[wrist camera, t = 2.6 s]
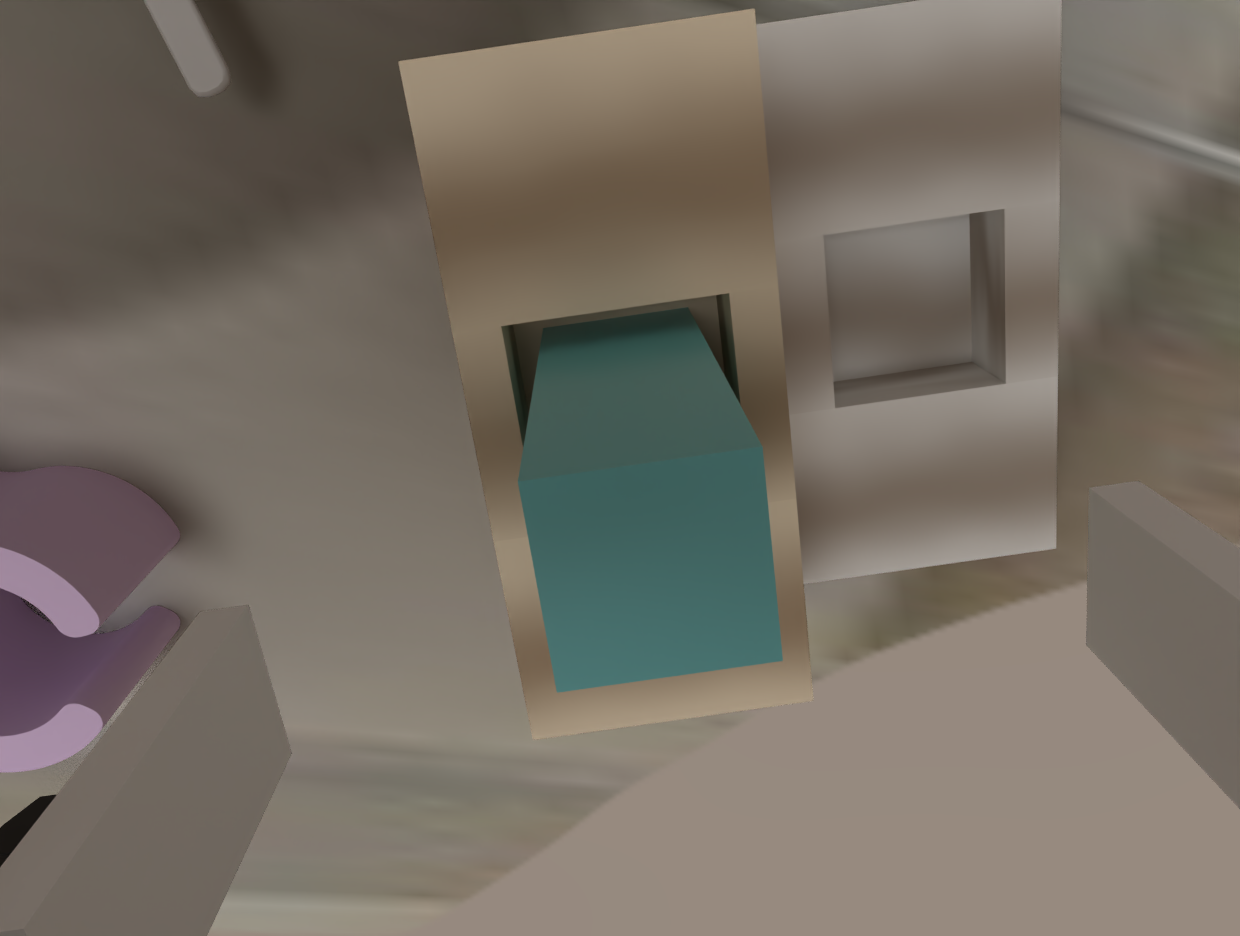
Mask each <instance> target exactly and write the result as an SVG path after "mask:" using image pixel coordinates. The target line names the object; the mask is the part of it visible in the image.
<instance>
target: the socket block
mask: <svg viewBox="0 0 1240 936" xmlns="http://www.w3.org/2000/svg"><path fill="white" fill-rule="evenodd" d="M1061 17H1062V0H918V1H911V2H905V3H898V4H891V5H884V6H878V7H871V8H864V9H857V10H851V11H844V12H837V13H830V14H824V15H817V16H810V17H803V18H797V19H790V20H783V21H776V22H770V23H763V24H756V18H755V9H748V10H741V11H735V12H728V13H721V14H714V15H708V16H701V17H694V18H687V19H681V20H674V21H667V22H660V23H654V24H647V25H640V26H634V27H627V28H620V29H613V30H607V31H600V32H593V33H586V34H580V35H573V36H566V37H559V38H553V39H546V40H539V41H532V42H526V43H519V44H512V45H506V46H499V47H492V48H485V49H479V50H472V51H465V52H458V53H452V54H445V55H438V56H431V57H425V58H418V59H411V60H404V61H398V62H399V68H400V73H401V78H402V83H403V88H404V93H405V98H406V103H407V108H408V113H409V118H410V123H411V128H412V133H413V138H414V143H415V148H416V153H417V158H418V163H419V168H420V173H421V178H422V183H423V188H424V193H425V198H426V203H427V209H428V214H429V219H430V224H431V229H432V234H433V239H434V244H435V249H436V254H437V259H438V264H439V269H440V274H441V279H442V284H443V289H444V294H445V299H446V304H447V309H448V314H449V319H450V324H451V329H452V334H453V339H454V345H455V350H456V355H457V360H458V365H459V370H460V375H461V380H462V385H463V390H464V395H465V400H466V405H467V410H468V415H469V420H470V425H471V430H472V435H473V440H474V445H475V450H476V455H477V460H478V465H479V470H480V475H481V480H482V486H483V491H484V496H485V501H486V506H487V511H488V516H489V521H490V526H491V531H492V536H493V541H494V546H495V551H496V556H497V561H498V566H499V571H500V576H501V581H502V586H503V591H504V596H505V601H506V606H507V611H508V616H509V622H510V627H511V632H512V637H513V642H514V647H515V652H516V657H517V662H518V667H519V672H520V677H521V682H522V687H523V692H524V697H525V702H526V707H527V712H528V717H529V722H530V727H531V732H532V737H533V740H538V739H545V738H552V737H559V736H566V735H573V734H580V733H588V732H595V731H602V730H609V729H616V728H623V727H630V726H638V725H645V724H652V723H659V722H666V721H673V720H680V719H687V718H695V717H702V716H709V715H716V714H723V713H730V712H737V711H744V710H752V709H759V708H766V707H773V706H780V705H787V704H794V703H801V702H808V701H813V689H812V678H811V666H810V654H809V642H808V631H807V619H806V607H805V595H804V584H809V583H816V582H823V581H830V580H837V579H844V578H851V577H858V576H865V575H872V574H880V573H887V572H894V571H901V570H908V569H915V568H922V567H929V566H936V565H943V564H950V563H957V562H964V561H971V560H978V559H985V558H993V557H1000V556H1007V555H1014V554H1021V553H1028V552H1035V551H1042V550H1049V549H1056V507H1057V409H1058V311H1059V213H1060V115H1061ZM685 307H688V308H689V310H690V312H691V314H692V316H693V318H694V319H695V321H696V323H697V325H698V327H699V329H700V331H701V333H702V334H703V336H704V338H705V340H706V342H707V344H708V346H709V347H710V349H711V351H712V353H713V355H714V357H715V359H716V361H717V362H718V364H719V366H720V368H721V370H722V372H723V374H724V375H725V377H726V379H727V381H728V383H729V385H730V387H731V389H732V390H733V392H734V394H735V396H736V398H737V400H738V402H739V403H740V405H741V407H742V409H743V411H744V413H745V415H746V417H747V418H748V420H749V422H750V424H751V426H752V428H753V430H754V432H755V433H756V435H757V437H758V439H759V441H760V443H761V445H762V446H763V456H764V467H765V477H766V488H767V498H768V509H769V519H770V530H771V540H772V551H773V561H774V572H775V582H776V593H777V603H778V614H779V624H780V635H781V645H782V656H783V661H779V662H772V663H765V664H758V665H751V666H744V667H736V668H729V669H722V670H715V671H708V672H701V673H694V674H687V675H680V676H673V677H665V678H658V679H651V680H644V681H637V682H630V683H623V684H616V685H609V686H601V687H594V688H587V689H580V690H573V691H566V692H559V693H557V691H556V685H555V680H554V675H553V669H552V664H551V658H550V653H549V648H548V642H547V637H546V631H545V626H544V621H543V615H542V610H541V605H540V599H539V594H538V588H537V583H536V578H535V572H534V567H533V561H532V556H531V551H530V545H529V540H528V534H527V529H526V524H525V518H524V513H523V507H522V502H521V497H520V491H519V486H518V477H519V471H520V465H521V459H522V453H523V447H524V441H525V435H526V429H527V423H528V417H529V410H530V404H531V398H532V392H533V386H534V380H535V374H536V368H537V362H538V356H539V350H540V344H541V338H542V332H543V328H547V327H554V326H561V325H568V324H575V323H582V322H589V321H596V320H603V319H609V318H616V317H623V316H630V315H637V314H644V313H651V312H658V311H665V310H671V309H678V308H685Z"/></svg>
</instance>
